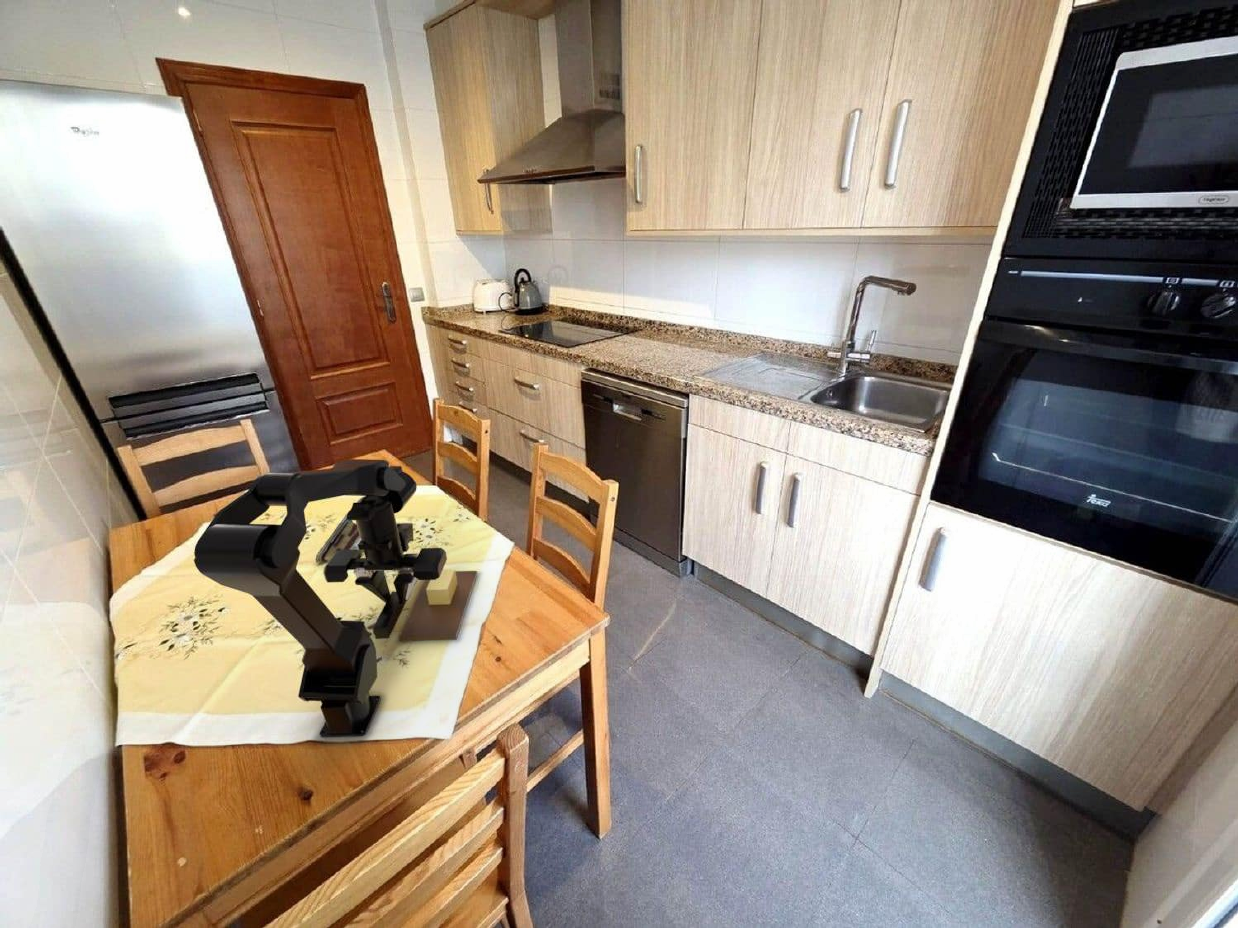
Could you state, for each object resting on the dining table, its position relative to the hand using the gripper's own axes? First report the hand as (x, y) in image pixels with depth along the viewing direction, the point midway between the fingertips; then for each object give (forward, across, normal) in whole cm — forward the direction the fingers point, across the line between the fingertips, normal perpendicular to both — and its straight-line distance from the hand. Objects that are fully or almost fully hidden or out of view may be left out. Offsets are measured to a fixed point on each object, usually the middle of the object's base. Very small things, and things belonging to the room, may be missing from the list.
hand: (396, 602), depth 90 cm
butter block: (+5, -6, -8) cm, 11 cm away
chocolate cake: (+6, +19, -24) cm, 31 cm away
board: (+6, -6, -6) cm, 10 cm away
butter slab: (+2, -6, -8) cm, 10 cm away
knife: (+1, 0, -3) cm, 3 cm away
